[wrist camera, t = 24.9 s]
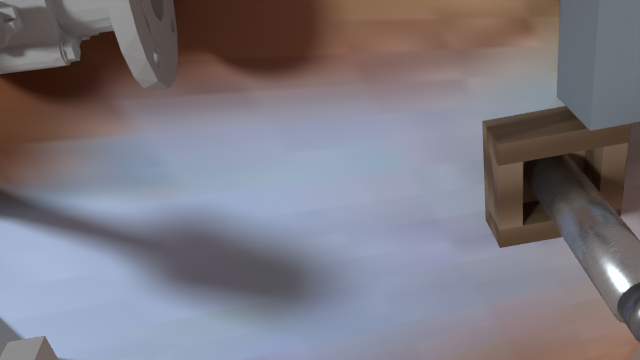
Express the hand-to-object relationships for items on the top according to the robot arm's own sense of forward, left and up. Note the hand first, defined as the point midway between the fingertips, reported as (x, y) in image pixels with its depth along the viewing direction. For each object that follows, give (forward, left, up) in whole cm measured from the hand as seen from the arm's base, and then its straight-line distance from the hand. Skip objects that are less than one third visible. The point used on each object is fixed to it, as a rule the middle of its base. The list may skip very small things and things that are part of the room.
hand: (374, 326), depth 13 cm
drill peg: (+20, +17, -34) cm, 43 cm away
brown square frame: (+20, +17, -35) cm, 44 cm away
